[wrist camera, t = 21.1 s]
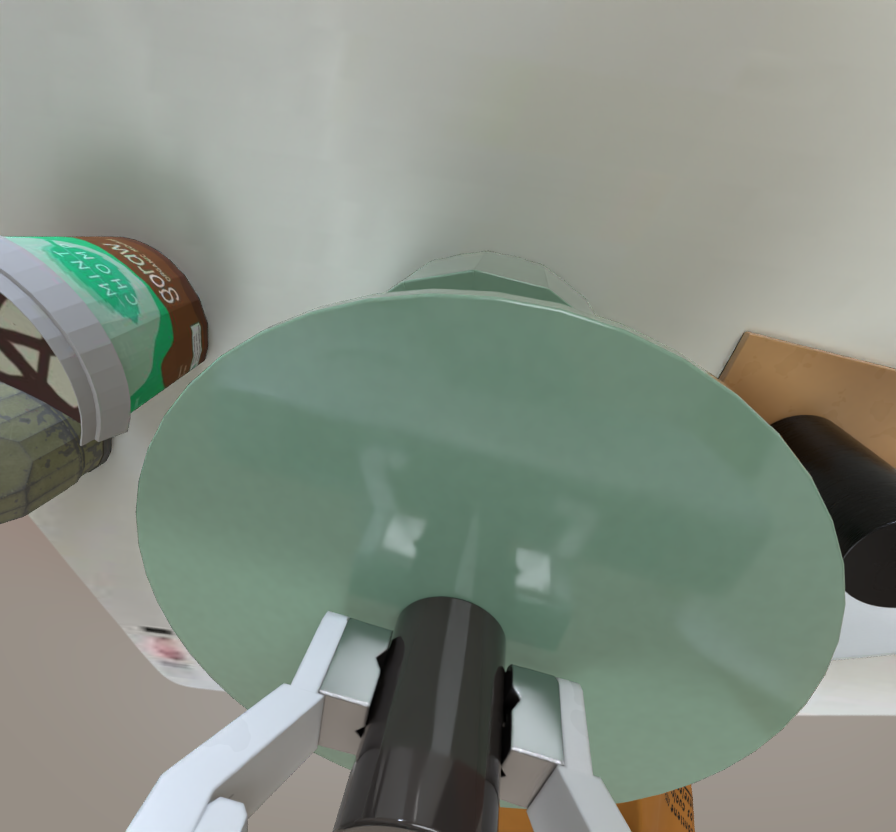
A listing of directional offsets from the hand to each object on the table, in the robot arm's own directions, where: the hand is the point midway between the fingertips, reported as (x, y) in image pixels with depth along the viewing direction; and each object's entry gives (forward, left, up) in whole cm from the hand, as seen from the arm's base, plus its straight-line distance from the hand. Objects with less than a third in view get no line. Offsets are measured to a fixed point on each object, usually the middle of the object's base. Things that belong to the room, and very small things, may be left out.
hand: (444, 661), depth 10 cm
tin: (0, +17, -18) cm, 25 cm away
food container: (0, -22, -19) cm, 28 cm away
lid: (0, 0, -1) cm, 1 cm away
